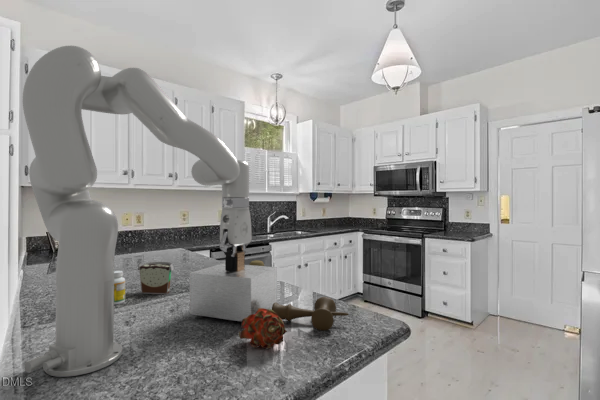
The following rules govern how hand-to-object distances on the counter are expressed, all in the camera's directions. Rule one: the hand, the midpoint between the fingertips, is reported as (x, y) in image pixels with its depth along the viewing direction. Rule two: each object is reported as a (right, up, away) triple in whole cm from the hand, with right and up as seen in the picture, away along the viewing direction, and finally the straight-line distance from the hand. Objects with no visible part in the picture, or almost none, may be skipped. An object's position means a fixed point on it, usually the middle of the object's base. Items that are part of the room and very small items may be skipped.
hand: (235, 268), depth 91 cm
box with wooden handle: (0, -11, 0) cm, 11 cm away
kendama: (+21, -13, -7) cm, 26 cm away
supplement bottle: (-40, -13, +10) cm, 43 cm away
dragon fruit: (+10, -13, -20) cm, 26 cm away
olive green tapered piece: (+3, -13, +22) cm, 26 cm away
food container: (-32, -13, +23) cm, 42 cm away
